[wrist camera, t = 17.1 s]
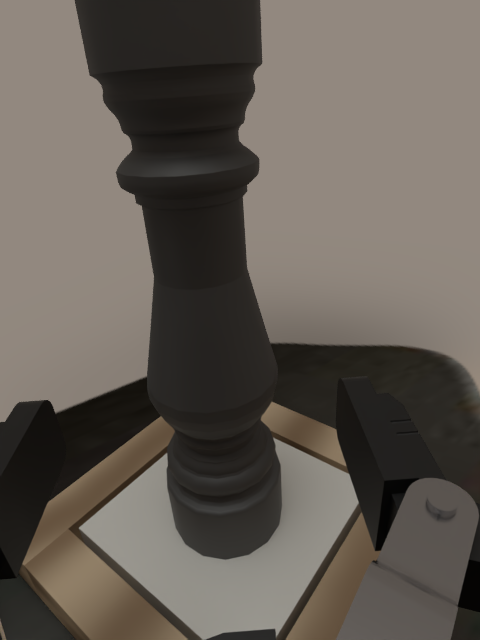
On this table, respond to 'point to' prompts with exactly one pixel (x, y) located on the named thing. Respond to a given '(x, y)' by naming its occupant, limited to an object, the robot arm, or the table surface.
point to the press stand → (118, 596)
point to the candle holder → (196, 251)
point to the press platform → (232, 574)
